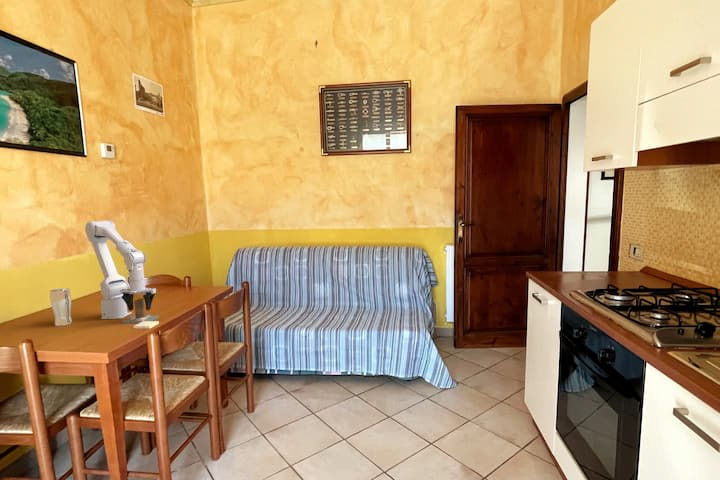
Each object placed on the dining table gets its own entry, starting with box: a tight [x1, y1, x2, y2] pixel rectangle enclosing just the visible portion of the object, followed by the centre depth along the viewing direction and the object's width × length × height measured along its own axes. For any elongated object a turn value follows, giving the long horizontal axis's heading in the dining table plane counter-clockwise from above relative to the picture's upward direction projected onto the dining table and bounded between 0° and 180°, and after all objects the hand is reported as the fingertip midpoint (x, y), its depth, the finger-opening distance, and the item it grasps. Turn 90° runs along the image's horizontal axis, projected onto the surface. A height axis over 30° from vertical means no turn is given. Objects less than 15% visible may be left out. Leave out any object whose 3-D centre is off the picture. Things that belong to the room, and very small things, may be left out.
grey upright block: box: [131, 297, 151, 321], centre depth 164 cm, size 5×6×9 cm
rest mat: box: [120, 315, 160, 324], centre depth 165 cm, size 12×8×1 cm, turn 89°
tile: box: [132, 320, 160, 330], centre depth 157 cm, size 2×6×7 cm
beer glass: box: [49, 287, 73, 327], centre depth 162 cm, size 7×7×15 cm
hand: (139, 309), depth 165 cm, fingers open, 7 cm apart
